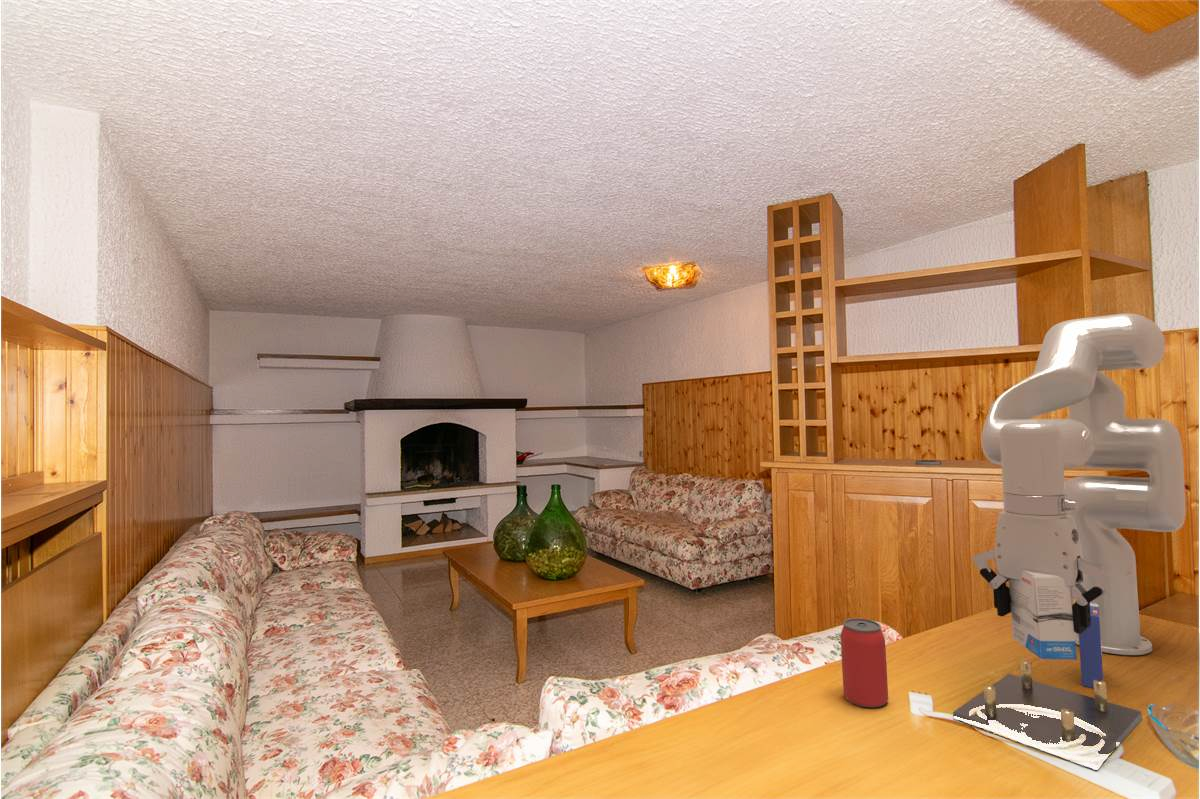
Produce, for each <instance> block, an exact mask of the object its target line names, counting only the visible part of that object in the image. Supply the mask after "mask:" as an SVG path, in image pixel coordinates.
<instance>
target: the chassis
mask: <svg viewBox="0 0 1200 799" xmlns="http://www.w3.org/2000/svg"><path fill="white" fill-rule="evenodd" d="M1020 675H1021V676H1018V675H1015V674H1011V673H1008V674H1006V675H1005V676H1003V677H1001V679H999V680H997V681H996V682H994V683H993V684H991V685H990V684H984V685H983V690H982V691H981V692H980V693H979V694H977V695H976V696H974V697H973V698H971V699H970V700H968V701H967V702H966V703H963V705H961V706H959V707H958V708H957V709H955V710H954V711H953V712H952V717H953V716H957V717H960V718H963V719H967V720H972V721H976V722H979V723H981V724H986V725H989V723H988V720H996V721H998V722H999V723H1001V724H1002V725H1005V727H1008V728H1009V729H1011V730H1013V729H1014V731H1015V730H1017V732H1018V733H1019V732H1020V733H1021V731H1022V732H1025V733H1026V735H1027V736H1028V737H1031V738H1032V740H1036V741H1041V742H1042V743H1046V744H1047V743H1048V744H1049V742H1050V743H1053V744H1054V743H1056V744H1057V743H1058V742H1060V740H1061V739H1060V737H1062V740H1063V741H1066V742H1070V741H1074V740H1076V739H1078V738H1079V736H1080V735H1081V734H1085V735H1086V740H1085V741H1084V742H1083V743H1082V744H1081V745H1083V746H1094V745H1096V744H1098V743H1099V742H1100V740H1101V739H1103V740H1104V741H1105V744H1104V746H1103V747H1102V748H1101V750H1100V751H1098V753H1099V754H1109V753H1111V752H1112V751H1114V750H1115V748H1116V742H1120V743H1121V744H1122V743H1123V741H1125V739H1126V738H1127V737H1128V736H1129V735H1130V733H1131V732H1132V731H1133V730H1134V729H1135V728H1136V726H1137V725H1138V724H1139V723H1140V722H1141V721H1142V720H1143V714H1142V713H1143V712H1142V710H1141V711H1140V710H1137V709H1133V708H1130V707H1126V706H1123V705H1120V704H1115V703H1113V702H1109V701H1108V697H1107V694H1108V693H1107V683H1106V681H1105V680H1103V681H1102V680H1094V688H1093V693H1094V697H1091V696H1089V695H1084V694H1081V693H1078V692H1074V691H1070V690H1067V689H1064V688H1060V687H1056V686H1054V685H1050V684H1046V683H1043V682H1040V681H1035V680H1033V671H1032V662H1031V661H1029V660H1026V659H1022V660H1020ZM999 704H1024V705H1031V706H1035V707H1042V708H1047V709H1051V710H1055V711H1059V712H1061V720H1060V719H1056V718H1050V717H1047V716H1044V715H1043V716H1042V715H1037V716H1040V717H1039V718H1033V717H1031V714H1029V716H1028V712H1027V715H1025V713H1023V712H1019V711H1016V710H1014V709H1011V708H1007V707H1006V708H1002V707H1001V708H996V705H999ZM983 705H985V709H981V710H980V711H981V712H982V713H984V714H985V715H986V716H987V720H985V719H983V718H981V717H979V716H978V715H977V714H974V715H971V716H969V711H970V710H971V709H973V708H976V707H979V706H983ZM1032 716H1033V714H1032ZM1034 716H1036V715H1034ZM1074 717H1077V718H1079V719H1081V720H1083V721H1085V722H1087V723H1089V724H1091V725H1094V726H1095V727H1097V728H1099V729H1100V730H1101V731H1102V732H1103V733H1105V734H1106V736H1104V737H1103V736H1102V737H1101V736H1100V735H1099V734H1096V733H1093V732H1089V731H1086V730H1085V729H1083V728H1081V727H1079V726H1077V725H1075V724H1074ZM1020 723H1021V724H1022V723H1024V724H1028V726H1026V727H1025V728H1024V727H1023V726H1021V725H1020ZM1022 727H1023V730H1022V729H1021V728H1022ZM1050 740H1051V741H1050ZM1058 744H1059V743H1058ZM1116 749H1117V748H1116ZM1115 751H1116V750H1115ZM1115 751H1114V752H1115Z"/></svg>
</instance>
